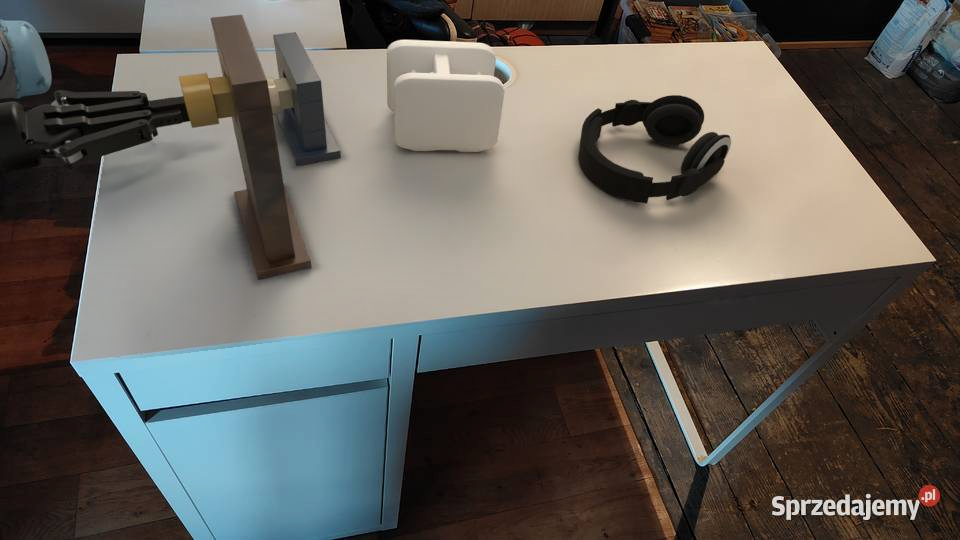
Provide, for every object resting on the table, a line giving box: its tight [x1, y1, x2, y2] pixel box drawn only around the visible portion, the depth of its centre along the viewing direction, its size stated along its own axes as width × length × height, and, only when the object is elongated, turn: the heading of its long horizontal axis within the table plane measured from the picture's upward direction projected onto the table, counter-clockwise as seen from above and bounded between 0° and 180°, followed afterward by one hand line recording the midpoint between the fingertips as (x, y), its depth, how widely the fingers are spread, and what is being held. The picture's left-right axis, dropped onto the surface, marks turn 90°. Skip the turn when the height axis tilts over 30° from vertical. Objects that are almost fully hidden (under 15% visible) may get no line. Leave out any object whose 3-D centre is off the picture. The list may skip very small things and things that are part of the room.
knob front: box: [178, 72, 236, 129], centre depth 64 cm, size 6×5×5 cm
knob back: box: [266, 75, 294, 116], centre depth 86 cm, size 6×5×5 cm
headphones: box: [577, 94, 732, 205], centre depth 92 cm, size 18×8×20 cm
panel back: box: [272, 31, 342, 167], centre depth 88 cm, size 6×14×12 cm, turn 25°
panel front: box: [210, 14, 313, 281], centre depth 70 cm, size 6×14×24 cm, turn 23°
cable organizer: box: [386, 39, 505, 153], centre depth 91 cm, size 15×11×12 cm
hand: (208, 105), depth 83 cm, fingers closed
